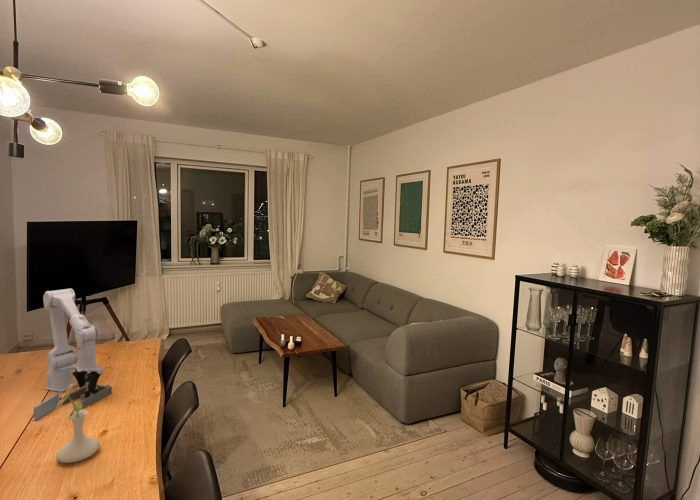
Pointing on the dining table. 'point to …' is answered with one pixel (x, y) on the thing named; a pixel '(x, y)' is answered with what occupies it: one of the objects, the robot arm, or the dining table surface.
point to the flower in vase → (76, 435)
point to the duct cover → (46, 406)
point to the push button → (88, 391)
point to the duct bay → (88, 401)
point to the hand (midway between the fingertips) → (87, 387)
